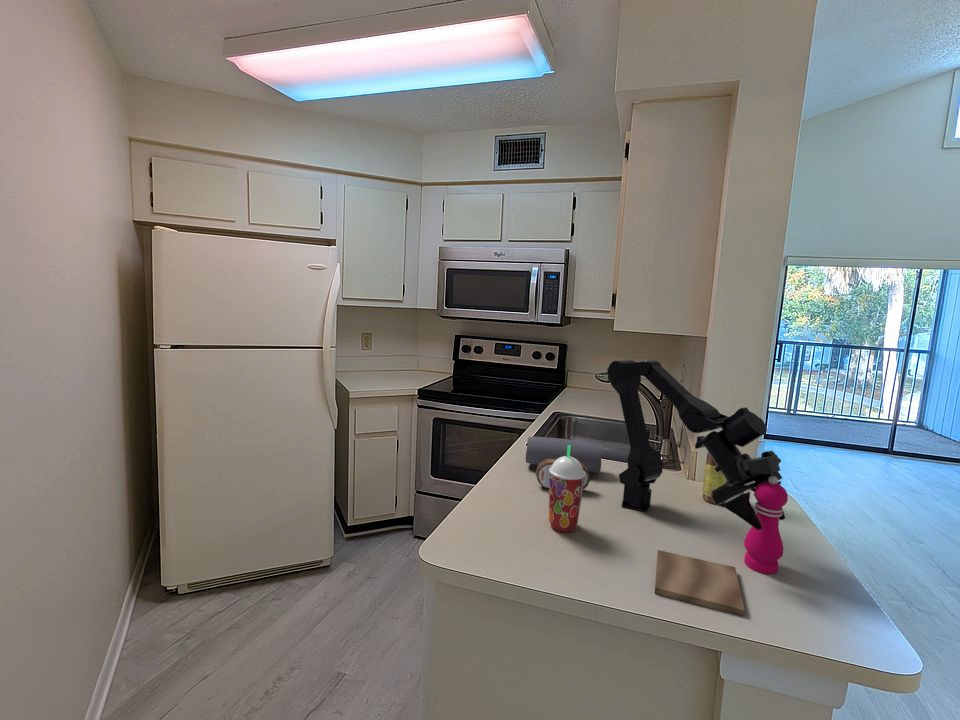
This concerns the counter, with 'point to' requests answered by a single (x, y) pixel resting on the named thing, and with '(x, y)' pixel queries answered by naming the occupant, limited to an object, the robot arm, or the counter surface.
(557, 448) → the bluetooth speaker
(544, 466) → the tin
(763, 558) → the pepper mill
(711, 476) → the sauce bottle
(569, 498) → the smoothie
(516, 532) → the counter surface
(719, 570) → the walnut board
